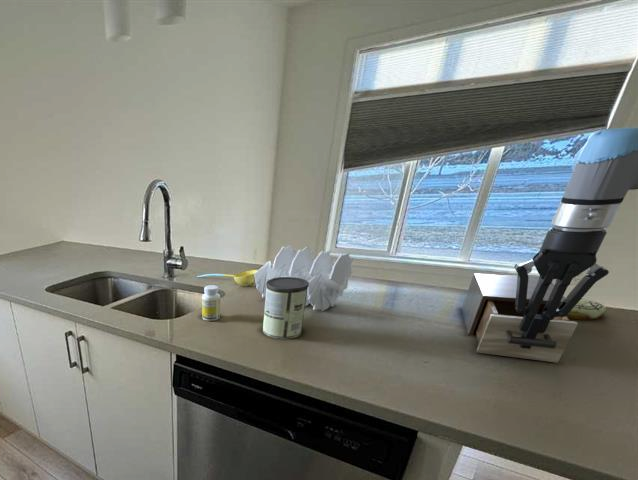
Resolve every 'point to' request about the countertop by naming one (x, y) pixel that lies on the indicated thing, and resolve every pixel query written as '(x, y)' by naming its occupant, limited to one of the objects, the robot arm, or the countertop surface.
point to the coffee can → (284, 307)
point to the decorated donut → (586, 310)
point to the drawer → (520, 333)
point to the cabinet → (494, 295)
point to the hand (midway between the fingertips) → (524, 345)
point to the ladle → (239, 277)
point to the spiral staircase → (309, 274)
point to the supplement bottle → (211, 303)
